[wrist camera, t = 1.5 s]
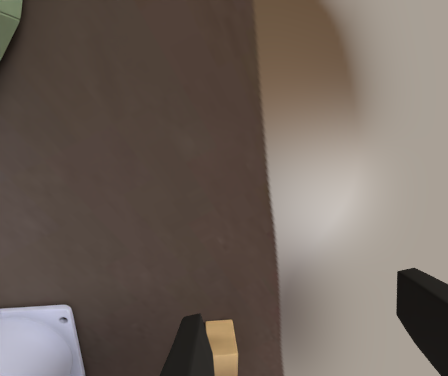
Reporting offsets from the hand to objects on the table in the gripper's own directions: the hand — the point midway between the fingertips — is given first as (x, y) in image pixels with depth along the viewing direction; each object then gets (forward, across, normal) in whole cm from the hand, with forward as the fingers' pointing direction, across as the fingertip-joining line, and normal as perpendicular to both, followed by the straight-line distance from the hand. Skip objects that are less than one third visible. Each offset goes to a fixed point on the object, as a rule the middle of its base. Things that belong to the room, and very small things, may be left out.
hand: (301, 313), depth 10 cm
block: (+8, +5, +12) cm, 15 cm away
